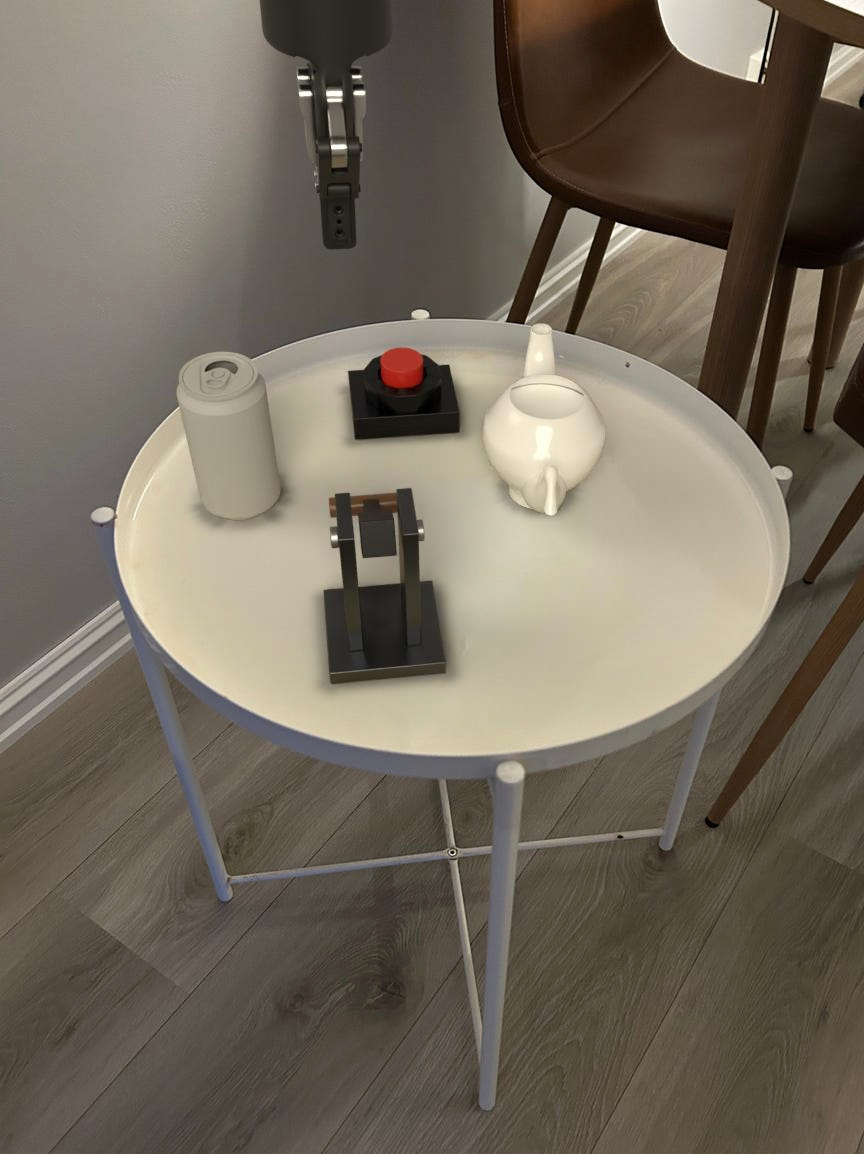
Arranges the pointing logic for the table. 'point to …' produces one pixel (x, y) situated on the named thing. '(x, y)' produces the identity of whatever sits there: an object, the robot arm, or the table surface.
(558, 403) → the teapot
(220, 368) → the beverage can
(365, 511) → the lever
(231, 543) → the table surface
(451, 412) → the control block
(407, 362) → the button
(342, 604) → the bracket
